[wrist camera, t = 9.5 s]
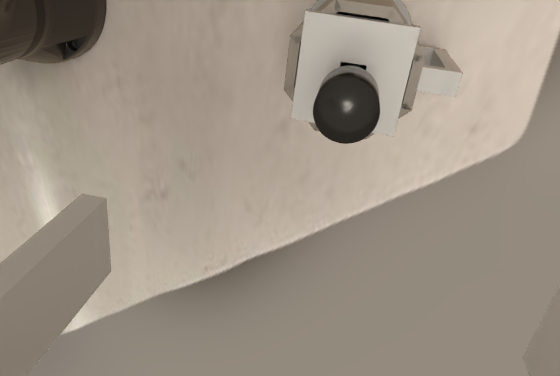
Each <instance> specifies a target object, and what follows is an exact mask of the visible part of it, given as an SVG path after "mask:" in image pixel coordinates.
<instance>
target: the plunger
mask: <svg viewBox="0 0 560 376" xmlns="http://www.w3.org/2000/svg"><path fill="white" fill-rule="evenodd" d="M337 14H341V15H348V16H354V17H361V18H368V19H375V20H381V21H386V20H385V19H384V18H381V17H374V16H367V15H360V14H354V13H347V12H339V13H337ZM379 117H380V101H379V89H378V85H377V83H376V81H375V79H374V78H373V76H372V75H371V74H370V73H369V72H367V71H366V65H360V64H354V63H347V62H341V64H340V67H339V68H336V69H334V70H333V71H331V72H330V73H329V74H327V76H326V77H325V78H324V79H323V81H322V83H321V85H320V88H319V91H318V93H317V96H316V99H315V102H314V105H313V118H314V122H315V124H316V126H317V128H318V129H319V131H320V132H321V133H322V134H323V135H324V136H325V137H327V138H328V139H330V140H332V141H335V142H338V143H354V142H358V141H360V140H362V139H364V138H366V137H367V136H368V135H369V134H371V133H372V131H373V130H374V129H375V127H376V125H377V123H378V121H379Z"/></svg>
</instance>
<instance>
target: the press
mask: <svg viewBox="0 0 560 376" xmlns="http://www.w3.org/2000/svg"><path fill="white" fill-rule="evenodd" d="M339 12H347V13H354V14H360V15H367V16H374V17H381V18H384V19H385V20H386V21H381V20H375V19H368V18H361V17H354V16H348V15H341V14H337V13H339ZM419 32H420V27H419V26H415V25H412V21H411V18H410V16H409V13H408V11H407V9H406V7H405V6H404V4H403V3H402V2H401V0H318V1H317V2H316V4H315V5H314V6H313V8H312V9H311V10H306V11H305V17H304V21H303V22H302V23H301V25H300V26H299V27H298V28H297V29H296V30H295V31H294V32H293V33H292V34H291V35H290V43H289V51H288V59H287V67H286V75H285V84H284V90H285V92H286V93H287V94H288V96H289V97H290V98H291V100H292V101H293V106H292V113H291V119H294V120H299V121H305V122H309V124H310V125H311V126H312V127H313V129H314V130H315V131H319V129H318V128H317V126H316V124H315V122H314V118H313V105H314V102H315V99H316V96H317V93H318V91H319V88H320V85H321V83H322V81H323V79H324V78H325V77H326V76H327V74H329V73H330V72H331V71H333V70H334V69H336V68H339V67H340V64H341V62H347V63H354V64H360V65H366V71H367V72H369V73H370V74H371V75H372V76H373V78H374V79H375V81H376V83H377V85H378V89H379V101H380V117H379V121H378V123H377V125H376V127H375V129H374V130H373V131H372V133H371V134H369V135H368V136H367V137H366V138H364V139H367V138H368V137H370V136H372V135H373V134H375V133H376V134H381V135H387V136H393V137H394V133H395V128H396V124H397V120H398V119H399V118H400V117H402V116H403V115H405V114H407V113H408V112H410V111H411V110H412V106H413V102H414V99H415V95H416V91H418V92H424V93H430V94H436V95H443V96H449V97H456V94H457V91H458V88H459V84H460V81H461V78H462V74H463V73H462V71H461V70H460V69H459V67H458V66H457V65H456V63H455V62H454V61H453V59H452V58H451V57H450V55H449V54H448V53H447V51H446V50H445V49H440V48H433V47H426V46H420V44H419V42H418V41H417V40H418V36H419Z"/></svg>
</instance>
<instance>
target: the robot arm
mask: <svg viewBox="0 0 560 376" xmlns="http://www.w3.org/2000/svg"><path fill="white" fill-rule="evenodd" d="M105 11H106V2H105V0H0V64H3V63H6V62H9V61H12V60H15V59H19V60H26V61H32V62H39V63H59V62H63V61H67V60H69V59H72V58H75V57H77V56H80V55H81V54H83V53H85V52H86V51H87V50H89V49H90V48H91V47H92V46H93V44H94V43H95V42H96V40H97V39H98V37H99V35H100V33H101V30H102V28H103V24H104V20H105ZM110 272H111V259H110V245H109V230H108V215H107V200H106V198H103V197H97V196H92V195H87V194H81V195H80V196H79V197H78V198H77V199H76V200H74V201H73V202H72V203H71V204H70V205H69V206H67V207H66V208H65V209H64V210H63V211H61V212H60V213H59V214H58V215H57V216H56V217H54V218H53V219H52V220H51V221H50V222H49V223H47V224H46V225H45V226H44V227H43V228H41V229H40V230H39V231H38V232H37V233H36V234H34V235H33V236H32V237H31V238H30V239H29V240H27V241H26V242H25V243H24V244H23V245H22V246H20V247H19V248H18V249H17V250H16V251H14V252H13V253H12V254H11V255H10V256H9V257H7V258H6V259H5V260H4V261H3V262H2V263H0V376H27V375H28V374H29V373H30V371H31V370H32V369H33V367H34V366H35V365H36V364H37V363H38V361H39V360H40V359H41V358H42V356H43V355H44V354H45V353H46V351H47V350H48V349H49V348H50V346H51V345H52V344H53V343H54V341H55V340H56V339H57V338H58V336H59V335H60V334H61V333H62V332H63V330H64V329H65V328H66V327H67V325H68V324H69V323H70V322H71V320H72V319H73V318H74V317H75V315H76V314H77V313H78V312H79V310H80V309H81V308H82V307H83V305H84V304H85V303H86V302H87V300H88V299H89V298H90V297H91V295H92V294H93V293H94V292H95V290H96V289H97V288H98V287H99V286H100V284H101V283H102V282H103V281H104V279H105V278H106V277H107V276H108V274H109V273H110ZM522 358H523V360H524V363H525V366H526V368H527V371H528V374H529V376H560V286H559V287H558V289H557V290H556V293H555V295H554V296H553V298H552V300H551V302H550V304H549V306H548V308H547V310H546V312H545V314H544V316H543V318H542V320H541V322H540V324H539V326H538V328H537V330H536V332H535V334H534V336H533V338H532V339H531V341H530V343H529V346H528V347H527V349H526V351H525V354H524V355H523V357H522Z"/></svg>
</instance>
